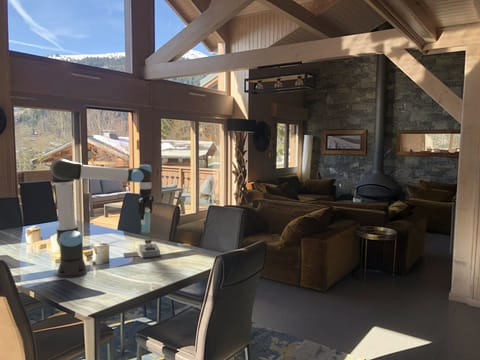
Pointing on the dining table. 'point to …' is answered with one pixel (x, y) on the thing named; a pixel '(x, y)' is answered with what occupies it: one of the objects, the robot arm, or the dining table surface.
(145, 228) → the cartridge
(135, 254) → the mat
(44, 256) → the dining table surface
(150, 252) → the housing
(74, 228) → the robot arm
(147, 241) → the plunger
